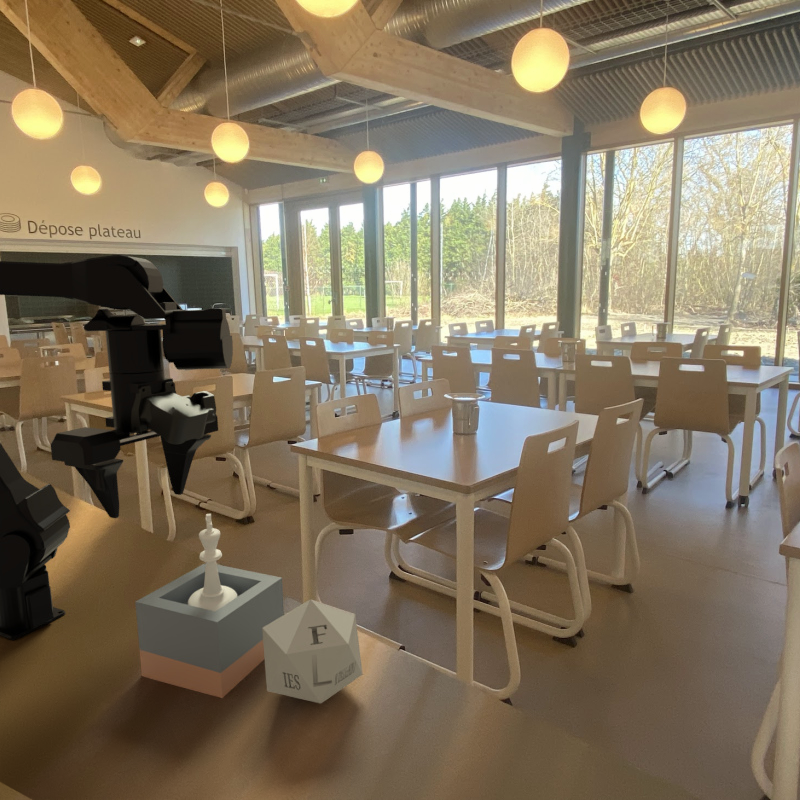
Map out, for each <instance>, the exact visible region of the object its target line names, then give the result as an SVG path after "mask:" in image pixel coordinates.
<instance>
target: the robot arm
mask: <svg viewBox="0 0 800 800" xmlns="http://www.w3.org/2000/svg"><path fill="white" fill-rule="evenodd" d="M0 296H19V297H20V296H24V297H25V296H27V297H47V298H48V297H49V298H50V297H51V298H53V297H54V298H63V299H64V298H65V299H71V300H74V301H78V302H82V303H85V304H88V305H93V306H94V305H95V306H99V307H102V308H99V309H98V310H97V312H96V313H95V314H94V316H93V317H92V318H91V319H89V320H88V321H87V323H85V324H84V325H83V330H84V331H86V332H105V342H106V351H107V352H106V353H107V354H106V355H107V364H108V372H109V373H108V375H109V379H108V380H105V381H102V382H101V385H102V387H101V388H102V391H106V392H110V396H111V408H112V416H107V417H105V418H104V419H105V427H107V428H114V429H103V428H95V427H88V426H84V427H80V428H75V429H70V430H65V431H62V432H61V431H60V432H57V433H56V434H55V435H54V437H53V439H52V440H51V443H50V451H51V452H50V453H51V460H52V461H57V462H62V463H63V464H64V466H67V467H74V468H75V469H76V471H77V472H78V473H79V474H80V475H81V477H82V478H83V479H84V480H85V482H86V483H87V485H88V486H89V487H90V489H91V490H92V492H93V493H94V496H96V498H97V499H98V501H99V503H100V504H101V506H102V507H103V509H104V511H105V512H106V514H107V515H108V517H109V518H111V519H118V518H119V517H120V497H119V496H120V495H119V486H118V472H119V470H120V468H121V467H122V464H123V462H124V459H121V458H120V459H119V458H117V457H118V455H119V453H120V452H121V449H122V448H121V447H123V446H125V445H130V444H135V443H137V442H141V441H146V440H149V439H154V438H158V437H160V440H161V445H162V450H163V454H164V459H165V463H166V468H167V472H168V477H169V481H170V485H171V489H172V490H173V494H174V495H178V496H180V495H181V496H182V495H183V493H184V490H185V488H186V483H187V480H188V477H189V473H190V470H191V467H192V463H193V460H194V457H195V454H196V452H197V450H198V449H199V448H200V447H201V446H202V445H203V444H204V443H205V442H206V441H208V440H210V439H211V438H212V434H210V433H215V432H218V431H219V422H218V421H219V420H218V415H217V406H216V405H217V404H216V399H215V394H213V393H211V392H210V391H207V390H203V391H198V392H193V394H192V395H191V396H190V395H189V394H188V395H184V396H183V395H179V394H178V393H177V390H176V384H175V382H174V378H172V377H171V378H170V377H169V378H168V377H165V375H166V374H165V364H164V363H165V362H164V358H165V360H166V361H167V362H168V364H171V363H172V364H173V365H174V367H175V369H176V370H177V371H183V370H184V371H185V370H192V371H193V370H223V369H224V370H225V369H226V370H228V369H230V368H231V366H232V364H233V356H234V355H233V354H234V352H233V351H234V349H233V348H234V347H233V344H234V343H233V335H231V333H230V326H229V322H228V320H227V312H226V311H227V309H225V308H224V307H215V308H207V309H195V310H194V309H192V310H191V309H190V310H188V309H187V310H186V309H185V310H184V309H182V307H181V306H180V304H179V303H178V302H176V300H175V299H174V298H173V296H172V295H171V294H170V293H169V292H168V291H167V289H166V288H165V287H164V281H163V276H162V274H161V272H160V270H159V269H158V267H156V265H155V264H154V263H152V262H151V260H150V261H149V260H148V259H145V258H141V257H135V256H129V255H123V254H112V255H105V256H97V257H96V256H95V257H90V258H83V259H80V260H74V261H70V262H69V261H67V262H61V263H59V262H57V263H55V262H32V261H31V262H29V261H9V260H8V261H7V260H6V261H3V260H0ZM103 307H104V308H103ZM109 309H113V310H117V311H120V310H121V311H127V310H130V311H131V312H133V313H135V314H125V315H124V314H122V315H121V314H120V315H118V314H117V315H115V314H114V313H112V312H111V311H110V310H109ZM144 319H145V320H150V319H151V320H152V319H153V320H155V319H158V320H160V319H161V320H162V319H164V320H165V321H164V322H165V323H147V324H146V323H145V321H144ZM70 511H71V510H70V509H69V508H67V506H65V505H64V504H63V503H62V502H61V500H60V498H59V496H58V494H57V492H56V489H55V488H54V486H53V485H52V484H50V483H48V484H46V485H44V486H42V487H41V488H38V487H37V486H36V485H34V484H32V483H30V482H29V481H27V480H26V479H25V478H24V477H23V475H22V474H21V472H20V471H19V469H18V468H17V467H16V465H15V463H14V462H13V460H12V459H11V457H10V456H9V454H8V452H7V450H6V449H5V448H4V446H3V445H2V443H1V442H0V636H1V637H4V638H7V639H9V640H12V641H13V640H16V639H19V638H22V637H23V636H27V635H28V634H30V633H32V632H34V631H36V630H38V629H41V628H42V627H45V626H47V625H48V624H51V623H52V622H54V621H56V620H58V619H60V618H62V617H63V616H65V615H66V611H65V610H64V609H61V608H58V607H55V606H53V598H52V597H53V596H52V590H51V589H52V587H51V585H50V579H49V578H50V576H49V571H48V569H47V565H46V564H47V563H48V562H49V561H51V560H52V559H53V560H54V558H55V557H56V555H57V551H58V548H59V547H60V546H61V545H62V544H63V543H64V542H65V541H66V539H67V538H68V535H69V531H70V528H71V525H70V520H69V518H68V516H67V514H68V513H70Z"/></svg>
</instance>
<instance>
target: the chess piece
mask: <svg viewBox="0 0 800 800" xmlns="http://www.w3.org/2000/svg"><path fill="white" fill-rule="evenodd" d="M205 524H206V528H205V529H202V530H200V532H199V533H198V538H199V541H200V542H201V544H202V547H203V548H204V550H203V551H201V552H200V553H199V560H200V561H202V562H205V563H206V569H205V581H204V587H203V588H201V589H199V590H197V591H196V592H194V593H193V594H192V595H191V596H190V598H189V600H188V605H191V606H195V607H199V608H203V609H207V610H211V611H217V610H218V609H220V608H221V607H223V606H224V605H226V604H227V603H229V602H230V601H232V600H234V599H235V598H237V597H238V596H237V593H236V592H235V591H234V590H233V589H232V588H230V587H227V586H222V585H221V584H220V580H219V575H218V569H217V565H218V564H217V561H218V560H220V559H221V558H222V556H223V553H222V551H221V550H220V549H218V548H217V546H218V543H219V540H220V537H221V531H220V529H217V528H214V527H213V522H212V513H206V514H205Z"/></svg>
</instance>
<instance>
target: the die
mask: <svg viewBox="0 0 800 800" xmlns="http://www.w3.org/2000/svg"><path fill="white" fill-rule="evenodd" d="M357 627H358V626H357V618H356V613H352V612H351V611H347V610H343V609H341V608H338V607H334V606H332V605H329V604H326V603H323V602H320V601H317V600H314V599H309V600H307V601H305V602H304V603H302V604H300V605H298V606H297V607H295V608H293V609H292V610H290V611H288V612H287V613H284V615H283V616H281V617H280V618H278V619H276V620H275V621H273V622H271V623H270V624H268V625H266V626H265V627H263V628H262V631H263V644H264V658H265V659H264V667H265V668H264V671H265V682H266V683H265V684H266V692H270V693H274V694H277V695H278V694H279V695H282V696H283V695H284V696H286V697H291V698H295V699H298V700H299V699H300V700H304V701H309V702H312V703H316V704H323V703H324V702H325V701H327V700H328V699H329V698H331V697H333V696H334V695H335V694H337V693H338V692H340V691H341V690H343V689H345V687H347V686H348V685H350V684H352V683H353V682H355V680H357V679H358V678H361V676H363V675H364V674H363V667H362V658H361V649H360V643H359V635H358V628H357Z"/></svg>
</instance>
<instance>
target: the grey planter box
mask: <svg viewBox="0 0 800 800" xmlns="http://www.w3.org/2000/svg"><path fill="white" fill-rule="evenodd" d="M205 569H206V562H205V563H203V564H201V565H199V566H197V567H196V568H194V569H192V570H190V571H188V572H186V573H185V574H183V575H181V576H179V577H178V578H176V579H173V580H172V581H170V582H168V583H166V584H165V585H162V586H161V587H160V588H157V589H156V590H154V591H152V592H150V593H148V594H146V595H145V596H143V597H141V598H140V599H138V600H135V601H134V602H135V603H134V604H135V613H136V624H137V625H136V626H137V637H138V648H139V658H140V671H141V676H142V677H144V678H147V679H151V680H154V681H157V682H162V683H166V684H169V685H172V686H176V687H179V688H183V689H184V688H185V689H187V690H190V691H191V690H192V691H195V692H198V693H202V694H205V695H209V696H212V697H215V698H216V697H217V698H221V699H223V698H224V697H225V696H226V695H228V693H230V692H231V691H232V690H233V689H234V688H235V687H236V686H237V685H238V684H239V683H240V682H241V681H242V680H244V679H245V678H246V677H247V676H248V675H249V674H250V673H251V672H252V671H253V670H254V669H256V667H258V666H259V665H260V664H261V663H263V661H265V658H264V644H263V631H262V628H263V627H265V626H266V625H268V624H270V623H271V622H273V621H275V620H276V619H278V618H280V617H281V616H283V615H285V613H284V612H285V611H284V609H285V607H284V594H283V593H284V591H283V590H284V589H283V588H284V587H283V577H280V576H277V575H271V574H266V573H261V572H256V571H250V570H245V569H241V568H237V567H236V568H235V567H231V566H225V565H221V564H217V569H218V575H219V580H220V584H221V585H222V586H227V587H230V588H232V589H233V590H234V591H235V592H236V593H237V596H238V597H237V598H235V599H234V600H232V601H230V602H229V603H227V604H226V605H224V606H223V607H221V608H220V609H218V610H217V611H211V610H207V609H203V608H199V607H195V606H191V605H188V600H189V598H190V596H191V595H192V594H193V593H194V592H196V591H197V590H199V589H201V588H203V587H204V581H205Z"/></svg>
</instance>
